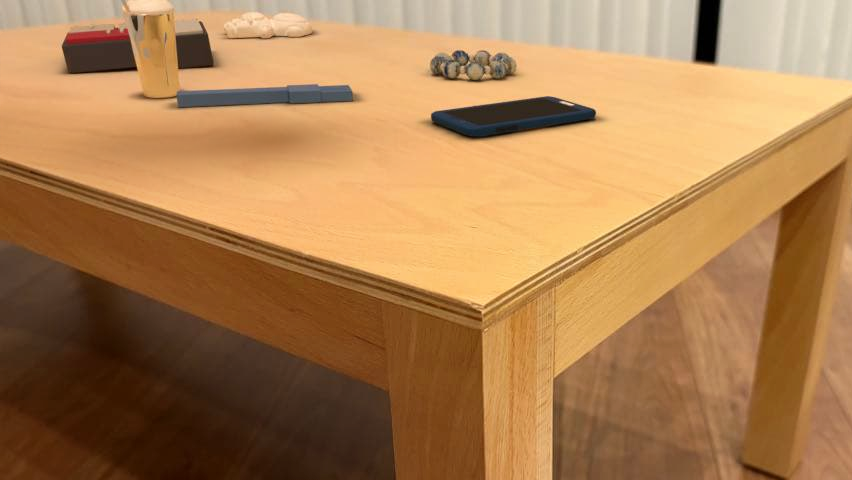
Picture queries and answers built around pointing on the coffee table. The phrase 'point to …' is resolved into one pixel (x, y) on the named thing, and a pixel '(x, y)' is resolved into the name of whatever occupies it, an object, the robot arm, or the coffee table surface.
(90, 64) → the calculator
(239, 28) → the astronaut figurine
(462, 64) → the bracelet
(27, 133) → the coffee table surface
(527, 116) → the cell phone
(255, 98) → the blue ruler strip
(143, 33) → the milkshake
